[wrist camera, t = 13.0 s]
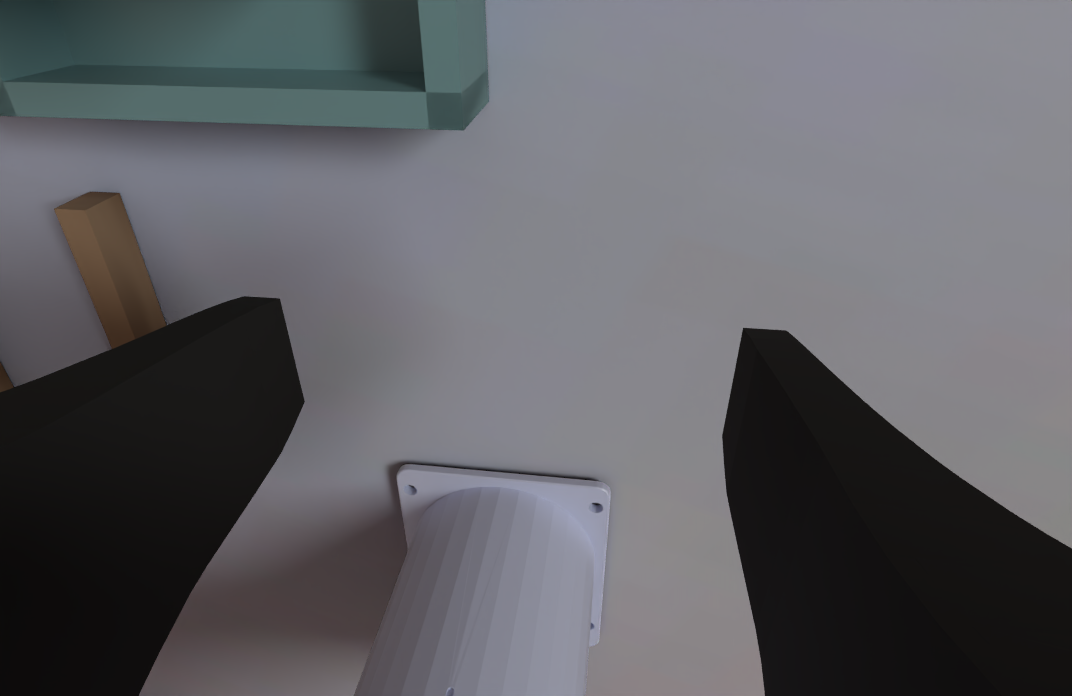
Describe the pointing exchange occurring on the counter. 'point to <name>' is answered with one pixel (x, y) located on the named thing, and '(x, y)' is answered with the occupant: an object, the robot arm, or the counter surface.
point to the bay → (109, 268)
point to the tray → (247, 61)
